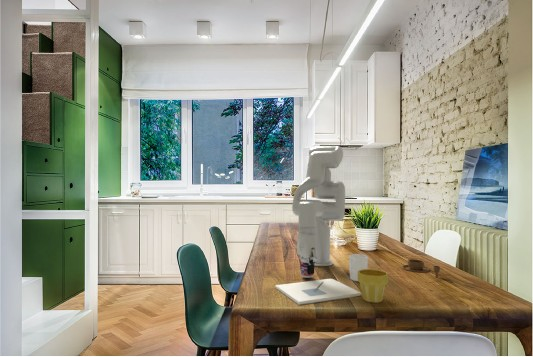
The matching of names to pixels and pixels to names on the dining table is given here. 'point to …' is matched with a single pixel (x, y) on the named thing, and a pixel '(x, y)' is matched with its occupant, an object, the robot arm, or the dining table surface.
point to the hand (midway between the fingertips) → (307, 271)
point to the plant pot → (372, 284)
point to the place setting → (419, 267)
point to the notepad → (316, 291)
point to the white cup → (357, 265)
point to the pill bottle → (305, 268)
